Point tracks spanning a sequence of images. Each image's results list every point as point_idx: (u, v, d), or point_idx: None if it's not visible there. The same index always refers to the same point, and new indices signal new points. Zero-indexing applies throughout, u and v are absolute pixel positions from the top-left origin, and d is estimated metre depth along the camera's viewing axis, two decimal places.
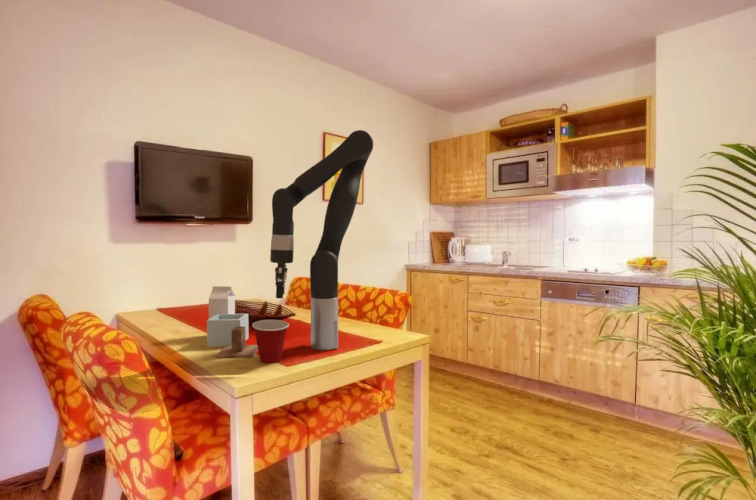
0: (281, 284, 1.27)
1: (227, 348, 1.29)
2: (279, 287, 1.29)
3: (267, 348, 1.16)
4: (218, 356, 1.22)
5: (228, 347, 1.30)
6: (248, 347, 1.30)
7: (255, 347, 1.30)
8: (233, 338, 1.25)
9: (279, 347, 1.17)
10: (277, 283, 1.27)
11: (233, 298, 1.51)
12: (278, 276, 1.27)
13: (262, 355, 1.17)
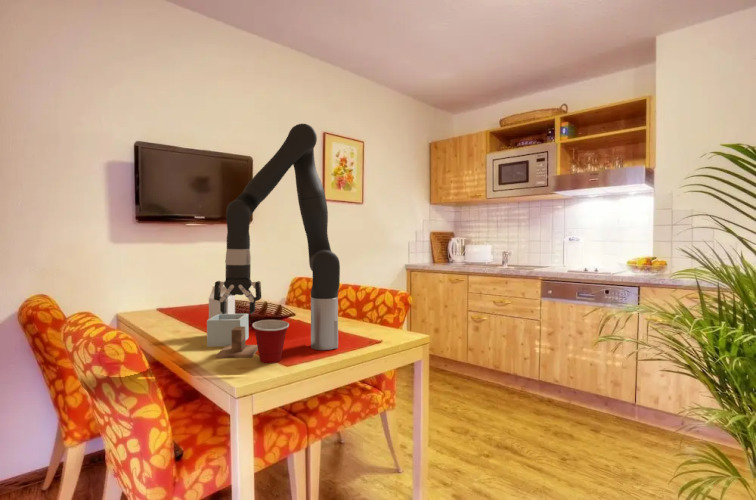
0: (260, 298, 1.28)
1: (227, 348, 1.29)
2: None
3: (267, 348, 1.16)
4: (218, 356, 1.22)
5: (228, 347, 1.30)
6: (248, 347, 1.30)
7: (255, 347, 1.30)
8: (233, 338, 1.25)
9: (279, 347, 1.17)
10: (259, 297, 1.27)
11: (233, 298, 1.51)
12: (259, 290, 1.27)
13: (262, 355, 1.17)
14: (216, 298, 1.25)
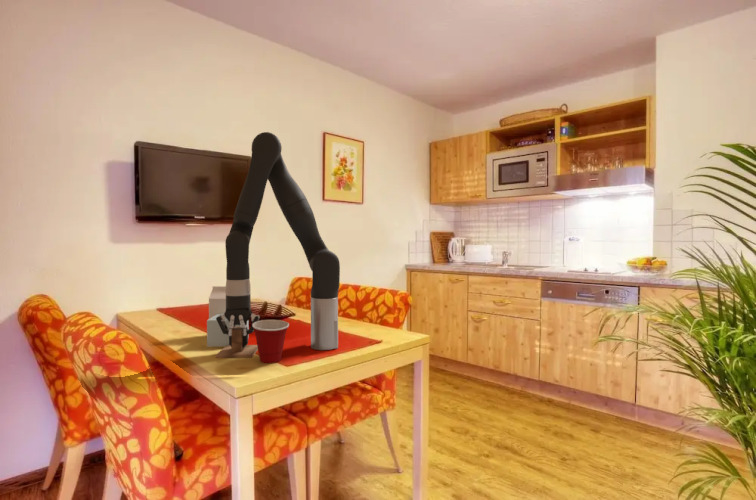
0: (253, 330, 1.28)
1: (227, 348, 1.29)
2: (247, 335, 1.27)
3: (267, 348, 1.16)
4: (218, 356, 1.22)
5: (228, 347, 1.30)
6: (248, 347, 1.30)
7: (255, 347, 1.30)
8: (233, 338, 1.25)
9: (279, 347, 1.17)
10: (252, 330, 1.27)
11: None
12: None
13: (262, 355, 1.17)
14: (225, 332, 1.26)
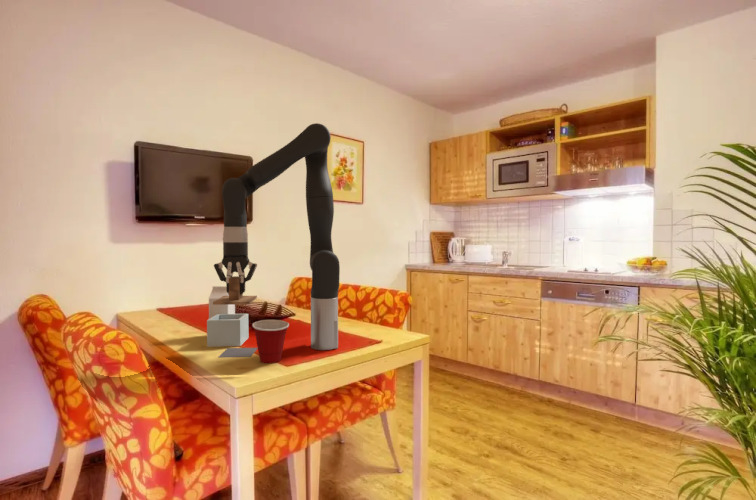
0: (250, 278, 1.30)
1: (224, 297, 1.30)
2: (244, 282, 1.29)
3: (267, 348, 1.16)
4: (216, 303, 1.23)
5: (225, 297, 1.32)
6: (245, 297, 1.31)
7: (252, 297, 1.32)
8: (230, 286, 1.26)
9: (279, 347, 1.17)
10: (249, 278, 1.28)
11: None
12: (252, 272, 1.29)
13: (262, 355, 1.17)
14: (222, 279, 1.27)
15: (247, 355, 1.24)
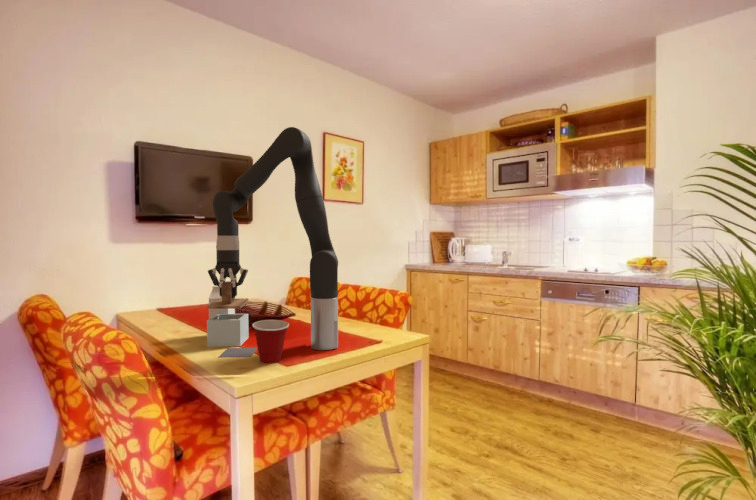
0: (241, 283, 1.40)
1: (218, 301, 1.41)
2: (236, 287, 1.39)
3: (267, 348, 1.16)
4: (209, 307, 1.34)
5: (219, 300, 1.42)
6: (237, 300, 1.42)
7: (244, 300, 1.42)
8: (223, 291, 1.36)
9: (279, 347, 1.17)
10: (240, 283, 1.39)
11: None
12: (243, 278, 1.39)
13: (262, 355, 1.17)
14: (216, 283, 1.38)
15: (247, 355, 1.24)
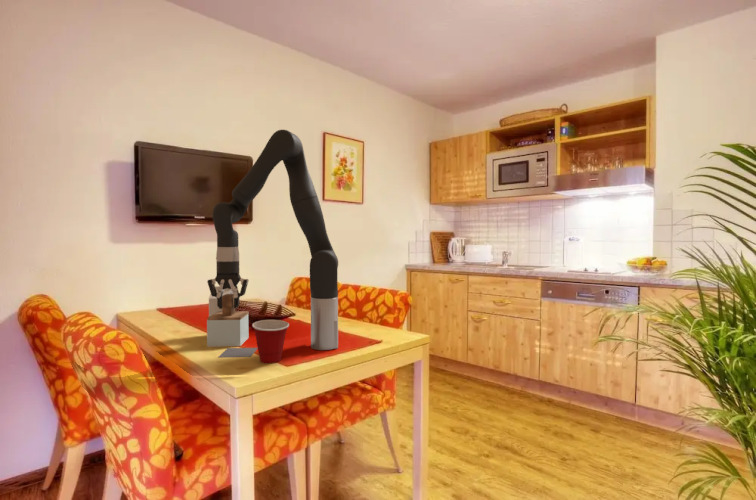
0: None
1: (218, 313, 1.42)
2: (239, 297, 1.40)
3: (267, 348, 1.16)
4: (210, 318, 1.34)
5: (219, 312, 1.43)
6: (237, 312, 1.43)
7: (244, 312, 1.43)
8: (223, 303, 1.37)
9: (279, 347, 1.17)
10: (243, 293, 1.39)
11: None
12: (245, 288, 1.39)
13: (262, 355, 1.17)
14: (213, 294, 1.38)
15: (247, 355, 1.24)
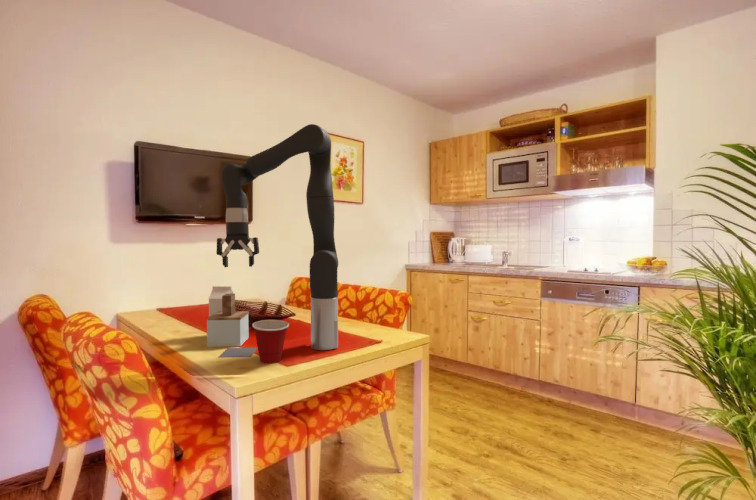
0: (258, 252, 1.42)
1: (218, 313, 1.42)
2: (253, 256, 1.41)
3: (267, 348, 1.16)
4: (210, 318, 1.34)
5: (219, 312, 1.43)
6: (237, 312, 1.43)
7: (244, 312, 1.43)
8: (223, 303, 1.37)
9: (279, 347, 1.17)
10: (257, 252, 1.41)
11: None
12: (257, 245, 1.41)
13: (262, 355, 1.17)
14: (218, 253, 1.39)
15: (247, 355, 1.24)
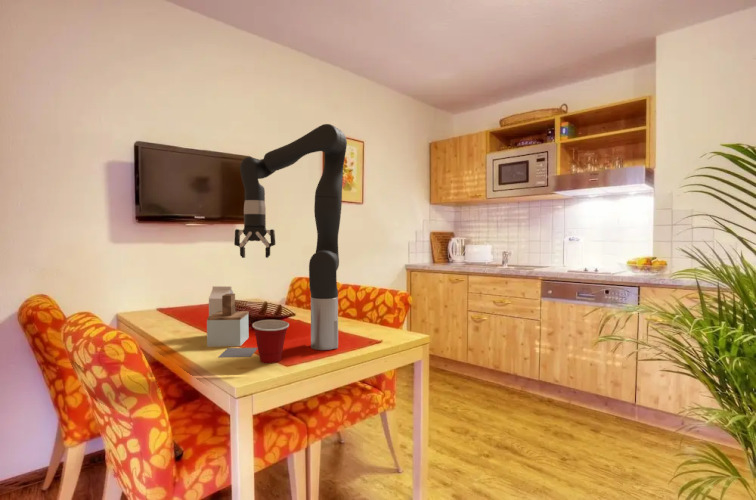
0: (274, 244, 1.46)
1: (218, 313, 1.42)
2: None
3: (267, 348, 1.16)
4: (210, 318, 1.34)
5: (219, 312, 1.43)
6: (237, 312, 1.43)
7: (244, 312, 1.43)
8: (223, 303, 1.37)
9: (279, 347, 1.17)
10: (274, 243, 1.45)
11: None
12: (274, 237, 1.45)
13: (262, 355, 1.17)
14: (236, 244, 1.44)
15: (247, 355, 1.24)
